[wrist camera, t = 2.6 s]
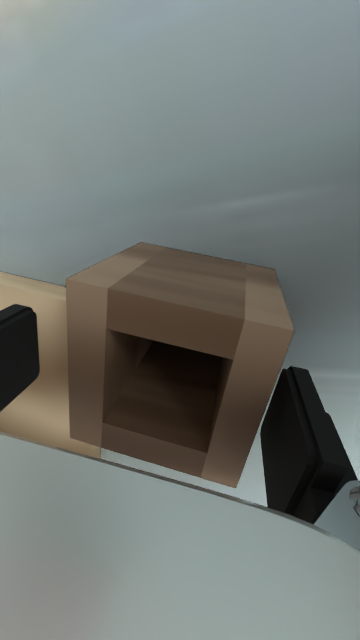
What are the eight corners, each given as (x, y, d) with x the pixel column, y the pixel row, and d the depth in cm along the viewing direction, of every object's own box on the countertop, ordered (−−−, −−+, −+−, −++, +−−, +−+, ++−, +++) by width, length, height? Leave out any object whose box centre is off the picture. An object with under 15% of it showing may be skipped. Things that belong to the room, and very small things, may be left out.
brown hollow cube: (140, 242, 13) (65, 278, 8) (274, 269, 12) (294, 330, 7) (130, 353, 16) (69, 437, 10) (240, 381, 15) (235, 488, 10)
